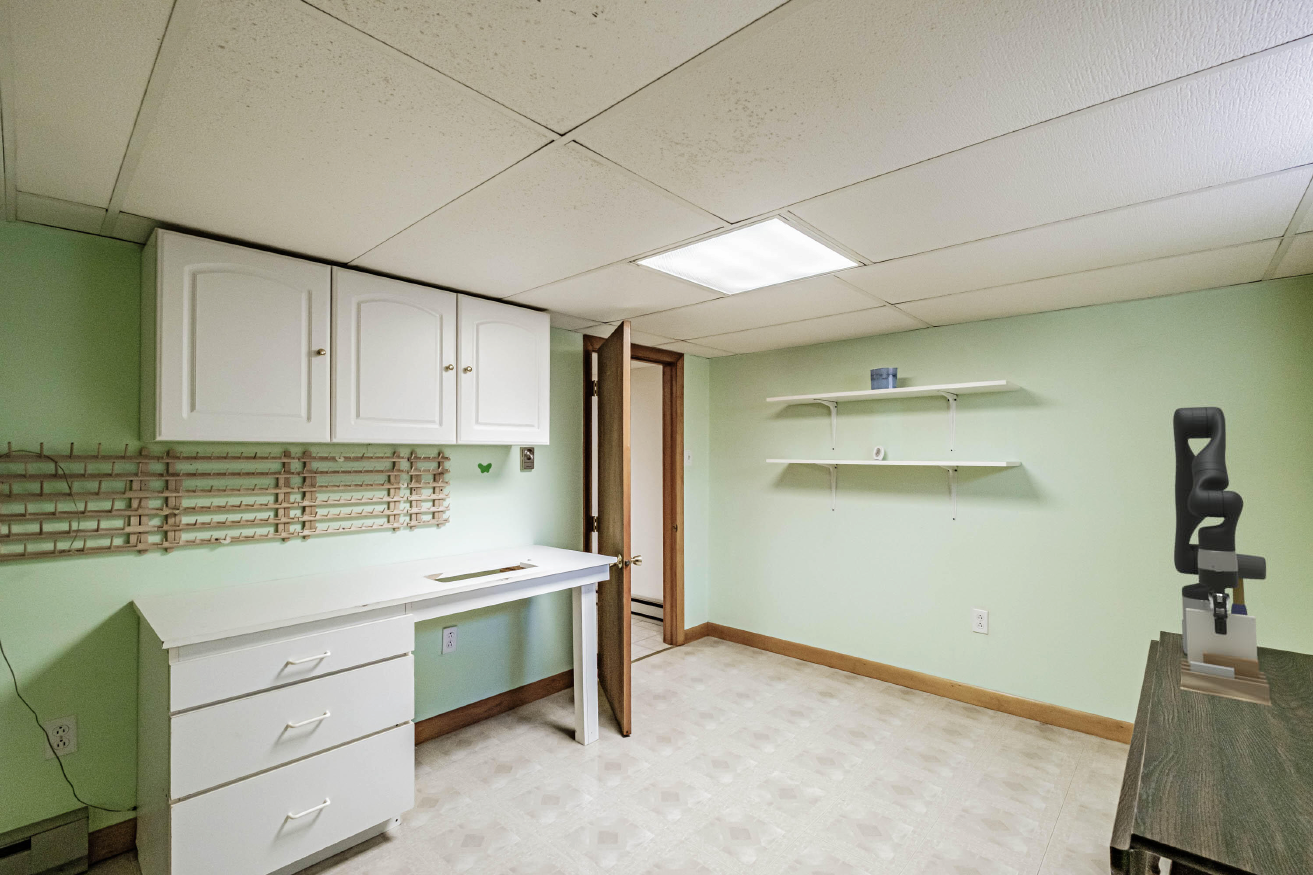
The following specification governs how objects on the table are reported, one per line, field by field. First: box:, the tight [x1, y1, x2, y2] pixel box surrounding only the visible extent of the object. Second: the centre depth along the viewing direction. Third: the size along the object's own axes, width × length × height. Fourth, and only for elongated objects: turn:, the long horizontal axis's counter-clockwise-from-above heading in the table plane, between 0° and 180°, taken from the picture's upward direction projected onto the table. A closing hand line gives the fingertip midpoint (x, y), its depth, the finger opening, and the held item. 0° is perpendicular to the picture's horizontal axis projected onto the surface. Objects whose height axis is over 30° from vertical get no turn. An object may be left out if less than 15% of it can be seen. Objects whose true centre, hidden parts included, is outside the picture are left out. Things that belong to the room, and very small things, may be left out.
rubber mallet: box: [1230, 553, 1267, 616], centre depth 182 cm, size 12×8×30 cm, turn 40°
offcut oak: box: [1203, 652, 1260, 679], centre depth 149 cm, size 2×10×8 cm, turn 48°
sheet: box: [1186, 608, 1258, 664], centre depth 153 cm, size 2×13×18 cm, turn 48°
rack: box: [1180, 658, 1272, 707], centre depth 150 cm, size 16×16×5 cm
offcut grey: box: [1190, 661, 1235, 679], centre depth 148 cm, size 2×8×6 cm, turn 48°
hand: (1220, 630), depth 153 cm, fingers open, 8 cm apart
